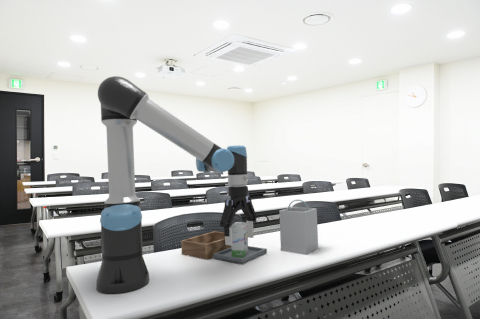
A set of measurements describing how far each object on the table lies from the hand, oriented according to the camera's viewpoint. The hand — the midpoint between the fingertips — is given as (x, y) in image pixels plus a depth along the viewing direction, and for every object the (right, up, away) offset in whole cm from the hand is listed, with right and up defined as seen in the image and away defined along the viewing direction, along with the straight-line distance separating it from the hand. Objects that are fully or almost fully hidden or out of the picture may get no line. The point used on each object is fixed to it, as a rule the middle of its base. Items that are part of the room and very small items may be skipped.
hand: (239, 241), depth 124 cm
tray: (0, -6, 0) cm, 6 cm away
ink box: (0, -5, 0) cm, 5 cm away
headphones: (+24, -5, +7) cm, 26 cm away
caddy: (+24, -5, +7) cm, 26 cm away
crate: (-12, -6, +9) cm, 16 cm away
